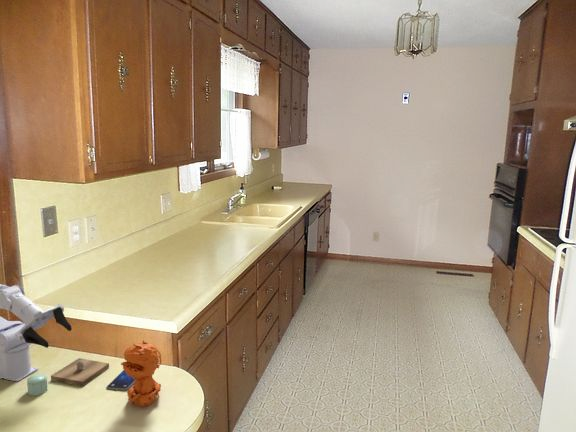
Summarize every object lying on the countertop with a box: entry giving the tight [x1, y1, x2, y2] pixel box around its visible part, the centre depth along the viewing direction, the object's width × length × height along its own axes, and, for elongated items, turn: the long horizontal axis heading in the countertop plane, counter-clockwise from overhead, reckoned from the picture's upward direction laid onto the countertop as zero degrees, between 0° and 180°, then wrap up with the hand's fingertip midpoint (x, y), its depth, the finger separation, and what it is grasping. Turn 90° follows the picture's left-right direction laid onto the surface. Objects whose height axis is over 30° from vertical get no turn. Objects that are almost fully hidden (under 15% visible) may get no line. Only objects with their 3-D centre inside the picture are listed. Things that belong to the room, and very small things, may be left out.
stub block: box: [50, 358, 110, 387], centre depth 142 cm, size 12×12×4 cm
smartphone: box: [105, 369, 136, 392], centre depth 140 cm, size 7×1×15 cm
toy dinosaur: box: [120, 340, 162, 407], centre depth 126 cm, size 11×11×18 cm
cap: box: [26, 373, 49, 397], centre depth 132 cm, size 5×5×4 cm
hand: (59, 336), depth 131 cm, fingers open, 7 cm apart
